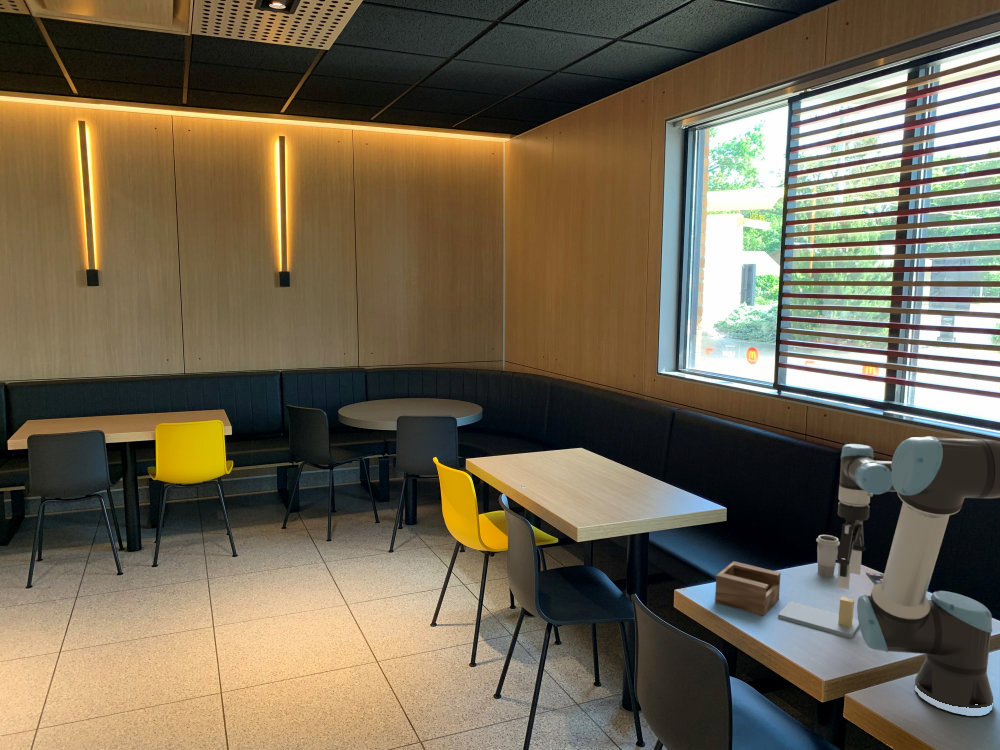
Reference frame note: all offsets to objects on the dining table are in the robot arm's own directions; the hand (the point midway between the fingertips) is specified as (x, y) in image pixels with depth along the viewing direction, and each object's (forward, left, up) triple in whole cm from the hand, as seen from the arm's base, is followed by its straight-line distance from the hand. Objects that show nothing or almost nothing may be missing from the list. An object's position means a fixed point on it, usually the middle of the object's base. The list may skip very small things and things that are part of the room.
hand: (849, 580), depth 199 cm
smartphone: (+41, -3, -14) cm, 43 cm away
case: (+1, +27, -14) cm, 30 cm away
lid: (0, +7, -14) cm, 16 cm away
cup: (+37, +14, -14) cm, 41 cm away
